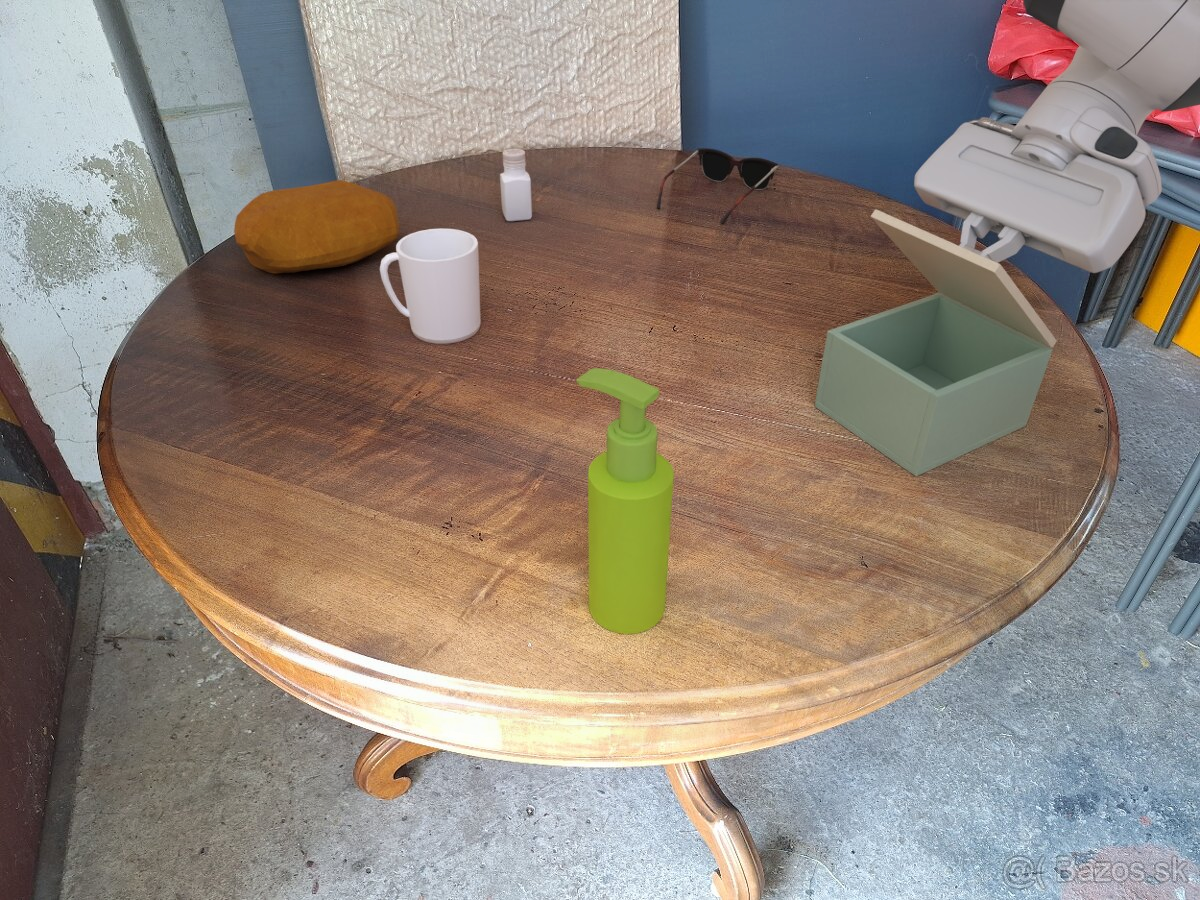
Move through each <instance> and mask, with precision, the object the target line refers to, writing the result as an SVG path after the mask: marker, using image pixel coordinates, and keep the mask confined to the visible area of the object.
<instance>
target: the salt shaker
mask: <svg viewBox="0 0 1200 900" xmlns="http://www.w3.org/2000/svg"><path fill="white" fill-rule="evenodd" d="M502 163H503V164H502V166H503V172H501V173H500V174H499V182H500V198H501V199H500V200H501V211H502V214H503V216H504V218H505V220H506V221H507V222H516V221H528V220H531V219H532V218H533V200H532V180H531V176H530V174H529V172H528V171H526V166H527V163H526V151H525V150H524V149H522V148H507V149H504V150H503V151H502Z"/></svg>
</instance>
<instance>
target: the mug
mask: <svg viewBox="0 0 1200 900" xmlns="http://www.w3.org/2000/svg"><path fill="white" fill-rule="evenodd" d="M395 251H396V252H390V253H388V254H386V255H385V256H384V257H382V258H381V261H380V266H379V273H380V278H381V281H382V284H383V286H384V289H385V292H386V294H387V296H388V297H389V299H390V300H391V302H392V304H393V305H394V306H395V308H396V309H397V310H398V312H399V313H401V314H402V315H403V316H404V317H406V318H408V319H409V324H410V329H411V332H412V333H413V335H414V337H416V338H417V339H419V341H420V340H421V341H422V342H425V343H428V344H429V343H430V344H434V345H448V344H455V343H460V342H463V341H465V340H468V339H470V338H472V337H474V336H475V335H476V334H477V333H478V332H479V330H480V328H481V325H482V322H481V319H482V318H481V291H480V289H481V288H480V264H479V263H480V262H479V261H480V259H479V258H480V257H479V242H478V239H477V238H476V236H475V235H473V234H472V233H469V231H464V230H460V229H456V228H442V227H441V228H429V229H425V230H424V229H423V230H418V231H416V232H415V231H414V232H412V233H409V234H407V235H405V236H403V237H402V238H401V239H400V240H398V242H397V243H396V245H395ZM395 261H397V262H398V268H399V273H400V278H401V282H402V288H403V293H404V299H405V303H406V307H405V306H404V305H403V304H402V303H401V301H400V300H399V299H398V297H397V295H396V293H395V290H394V289H393V285H392V284H391V280H390V277H389V273H388V269H389V266H390V265H391V263H393V262H395Z"/></svg>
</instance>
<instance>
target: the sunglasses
mask: <svg viewBox="0 0 1200 900" xmlns="http://www.w3.org/2000/svg"><path fill="white" fill-rule="evenodd" d="M697 155H698V159H699V166H701V168H702V172H703V175H704V176H705V178H707V179H709V180H711V181H714V182H717V183H718V182H724V181H725V180H726V179H727V177H729V176H730V175H731V174H732V172H733V170H734V169H735V168H734V167H737V170H738V174H739V177H740V178H741V179H742V180H743V183H744V185H745V186H746V187H747V188H749V190H747V191H746V192H745V193H744V194H743V195H741V196H740V197H739V199H738V200H737V201H736V202H735V203H734V205H733V206H731V208H730V209H729V210H728V212H727V213H726V214H725V215H724V216H723V217H722V219H721V220H720V224H722V225H724V224H725V223H726V222H727V220H728V218H729V217H730V216H731V214H732V213H733V212H734V210H735V209H736V208H737V207H738V206H739V205H740V203H741V202H742V201H743V200H744V199H745V198H747V197H748V196H749V195H750V194H751V193H752V192H753V191H755V190H756V191H762V190H765V189H767V187H769V185H770V182H771V180H773V179H774V176H775V172H776V170H778V169H779V163H777V162H774V161H772V160H769V159H765V158H762V157H745V158H742V159H741V160H736V159H735V158H734V157H733V156H731V155H730V154H729V153H726V152H725V151H722V150H720V149H717V148H716V149H715V148H710V147H709V148H707V147H703V148H697V149H696V150H695V151H694V152H693V153H692V154H691V155H690V156H688V157H687V158H686V159H685V160H683V162H681V163H680V164H679V165H677V166H676V167H674V168H673V169H672V170H670V171H669V172H668V173H667V174H666V175H664V177H663V179H662V180H661V183H660V186H659V187H660V188H659V192H658V198H657V204H656V209H657V210H660V209H661V206H662V196H663V190H664V186H665V183H666V182H667V179H668V178H669V177H670V176H672V175H673V174H674V173H675V172H676V171H677V170H678V169H679V168H681V167H682V166H683V165H685V164H686V163H687V162H688V161H689V160H691V159H692V158H694V157H695V156H697Z"/></svg>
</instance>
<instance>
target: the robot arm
mask: <svg viewBox="0 0 1200 900" xmlns="http://www.w3.org/2000/svg"><path fill="white" fill-rule="evenodd" d="M1022 1H1023V6H1024V9H1025V14H1026V15H1029V16H1030V17H1031V18H1033V19H1034V20H1037V21H1038V22H1040V23H1042V24H1043V25H1045V26H1047V27H1049V28H1050V29H1052V30H1054V31H1055V32H1061V33H1062V34H1064V35H1065V36H1066V37H1068V38H1069V39H1071V40H1072V41H1073V42H1074V43H1076V44H1077V45H1079V46H1078V47H1077V48H1076V50H1075V53H1074V56H1073V58H1072V60H1071V62H1070V63H1069V65H1068V67H1066V69H1065V70H1064V71H1063V72H1062V73H1061V74H1059V75H1058V76H1056V77H1055V78H1053V80H1051V81H1050V83H1048V84H1047V86H1046V87H1045V88H1044V89H1043V91H1042V92H1041V93H1040V95H1038V97H1037V98H1036V99H1035V101H1034V102H1033V103H1032V104H1031V106H1030V107H1029V108H1028V110H1027V111H1026V112H1025V113H1024V114H1023V116H1022V117H1021V118H1020V120H1019V121H1018V122H1017V124H1016V125H1013V124H1010V123H1006V122H1001V121H997V120H995V119H993V118H991V117H985V116H984V117H983V116H982V117H980V118H979V119H973V120H970V121H968V122H967V121H965V122H963V123H962V124H961V125H960V126H958V127H957V128H956V130H955V131H954V132H953V134H951V136H949V137H948V138H947V139H946V140H945V141H944V142H943V143H942V144H941V145H940V146H939V147H938V148H937V149H936V150H935V151H934V152H933V153H932V154H931V155H930V156H929V157H928V158H927V160H926V161H924V163H923V164H922V165H921V167H919V169H918V170H917V171H916V173H915V175H914V179H913V180H914V181H913V187H914V190H915V191H916V193H917V195H918V197H920V199H921V201H922V202H923V203H924V204H925V205H928V206H930V207H933V208H935V209H937V210H940V211H942V212H945V213H947V214H950V215H952V216H955V217H957V218H959V219H962V220H964V221H963V223H962V228H961V234H960V241H959V244H958V246H960V247H963V248H965V249H967V250H969V251H972V252H974V253H976V254H978V255H981V256H983V257H985V258H988V259H990V260H992V261H994V262H997V263H1000V262H1002V261H1004V260H1006V259H1009V258H1010V257H1013V256H1014V255H1017V254H1018V253H1019V251H1020V250H1021V249H1022V248H1023V246H1027V247H1029V248H1031V249H1033V250H1037V251H1039V252H1040V253H1043V254H1046V255H1049V256H1051V257H1052V258H1055V259H1058V260H1060V261H1063V262H1065V263H1068V264H1069V265H1072V266H1075V267H1077V268H1078V269H1079V268H1080V269H1082V270H1084V271H1087V272H1089V273H1092V274H1097V273H1100V272H1102V271H1105V270H1108V269H1110V268H1111V267H1113V266H1114V265H1115V264H1116V263H1117V261H1118V260H1119V259H1120V258H1121V257H1122V256H1123V254H1124V253H1125V251H1126V250H1127V249H1128V248H1129V246H1130V245H1131V243H1132V242H1133V240H1134V239H1135V237H1136V236H1137V234H1138V232H1139V231H1140V230H1141V228H1142V226H1143V224H1144V222H1145V219H1146V206H1149V205H1151V204H1153V203H1154V202H1155V201H1156V200H1157V199H1158V197H1159V196H1160V195H1161V194H1162V190H1163V189H1162V188H1163V187H1162V178H1161V172H1160V169H1159V166H1158V162H1157V160H1156V157H1155V155H1154V152H1153V150H1152V148H1151V146H1150V145H1149V144H1148V143H1147V142H1146V141H1145V140H1143V138H1141V137H1139V136H1138V134H1139V131H1140V129H1141V128H1142V126H1143V124H1144V122H1145V121H1146V120H1147V118H1148V117H1149V116H1150V115H1151V113H1152V112H1154V111H1155V110H1159V111H1161V112H1163V113H1164V112H1171V111H1172V112H1173V111H1177V110H1183V109H1187V108H1192V107H1196V106H1200V0H1022ZM989 232H993V233H995V234H997V237H998V240H997V242H995V243H993V244H991V245H989V246H988V247H986V248H985V249H983V250H978V249H976V248H975V247H976V244H977V238H979V239H981V240H982V239H984V238H985V237H986V235H987V234H988V233H989Z"/></svg>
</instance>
